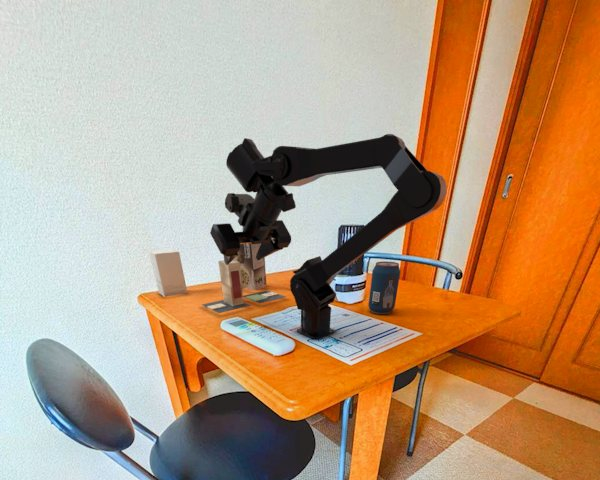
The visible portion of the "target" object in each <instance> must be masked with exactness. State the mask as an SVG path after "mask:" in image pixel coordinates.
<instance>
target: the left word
mask: <svg viewBox="0 0 600 480" xmlns="http://www.w3.org/2000/svg"><path fill="white" fill-rule="evenodd" d="M201 306H203V307H205V308H207V309H209V310H211V311H213V312H216V313H218V314H221V313H226V312H230V311H234V310H238V309H239V310H240V309H242V308H246V307H251V306H252V305H251V304H250V303H249V304H248V303H246V302H244V304H241V305H237V306H231V305H229V304H227V303H224V299H221V300H217V301H212V302H207V303H202V304H201Z"/></svg>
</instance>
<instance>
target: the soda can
mask: <svg viewBox="0 0 600 480" xmlns="http://www.w3.org/2000/svg"><path fill="white" fill-rule="evenodd" d="M371 272H372V273H371V280H370V289H369V297H368V304H367V306H368V309H369V311H370V312H371V313H373V314H378V315H387V314H388V315H389V314H391V313H392V312H393V310H395V307H396V301H397V294H398V289H399V283H400V276H401V269H400V263H399V262H395V261H377V262H375V266H373V269H372V271H371Z"/></svg>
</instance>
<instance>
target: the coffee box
mask: <svg viewBox="0 0 600 480" xmlns="http://www.w3.org/2000/svg"><path fill="white" fill-rule="evenodd" d="M260 245H261V244H252V243H247V244H240V250H239V251H238V252H237V253H238V255H237V256H236V257H235V258H234V259H233V261H237V262H239V263H240V273H241V283H242V289H245V290H246V289H247V290H251V291H258V290H261V289H263V288H266V287H267V273H266V257H264V258H262V259H260V260H257V258H256V255H257V252H258V250H259V247H260Z"/></svg>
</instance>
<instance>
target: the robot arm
mask: <svg viewBox="0 0 600 480" xmlns="http://www.w3.org/2000/svg"><path fill="white" fill-rule="evenodd" d="M405 143H406V142H405V141H404V140H403V139H402V138H401V137H400V136H397V135H396V134H393V133H386V134H384V135H381V136H380V137H375V138H369V139H364V140H358V141H352V142H347V143H342V144H335V145H330V146H325V147H319V148H312V147H311V148H310V147H301V146H290V145H279V146H277V147H275V148H274V149H273V150H272V154H271V155H268V156H266V157H265V156H264V155H263V154H262V152H260V150H259V149H258V147H257V145H256V143H255V142H254V140H253V139H252V138H246V137H245V138H243V140H242V142H241V143H240V144H238V145H237V146H235V147H234V148H233V149H232V150H231V151H230V152H229V153H228V155H227V157H226V161H225V162H226V163H225V165H226V168H227V169H228V171H229V172H230V173H231V174H232V175H233V177H234V179H236V181H237V182H238V184H240V186H241V187H242V188H243V190H245V192H246V193H234V192H229V193H227V194H226V197H225V199H224V207H225V209H226V210H227V211H228V212H229V213H230V214H235V215H236V216H237V217H238V219H237V223H238V224H239V226H240V227H242V231H235V229H234V227H233V226H232V224H231V223H229V222H226V223H213V224H212V226H211V229H210V232H209V234H210V235H211V237H212V240H213V241H214V244H215V245H216V247H217V249H218V250H219V252H220V254H221V255H222V256H223V260H224V262H225V264H226V265H228V264H229V263H230V262H231V261H232V260H233V259H234V258H235V257H236V256H237V255H238V253H237V252H238V251H239V250H240V244H247V243H252V244H261V245H260V247H259V250H258V252H257V255H256V258H257V260H260V259H262V258H264V257H265V258H266V257H268V256H270V255H272V254H275V253H276V252H279V251H281V250H283V249H284V248H285V249H286V248H289V247H290V245H291V243H292V235H291V234H290V232H289V230H288V228H287V225H286V224H285V223H284V220H282V219H278V218H279V217H280V215H281V213H282V212H283V213H286V212H289V211H291V210H294V209H296V207H297V206H296V201H295V199H294V194H293V193H292V192H290V193H289V192H288V191H287V189H286V187H301V186H305V185H307V184H310V183H313V182H315V181H317V180H318V179H320V178H323V177H326V176H331V175H337V174H338V175H339V174H345V173H352V172H353V173H354V172H360V171H368V170H375V169H383V171H384V172H385V174H386V175H387V177H388V179H389V180H390V182H391V184H392V185H393V186H394V188H396V192H395V193H394V194H393V195H392V197H391V198H390V200H389V201H388V202H387V204H386V205H385V207H384V208H383V209H382V211H380V213H378V214H377V215H375V217H374V218H372V219H371V220H370V221H368V223H366V224H365V225H364V226H362V227H361V228H360V229H359V230H358V231H356V233H354V234H353V235H352V236H350V237H349V238H347V240H345V241H344V242H343V243H342V244H340V245H339V246H338V247H337V248H336V249H334V250H333V251H332V252H331V253H330V254H328V255H327V256H326V257H324V258H323V259H322V256H321V255H319V256H316V257H313V258H309V259H307V260H306V261H304V262H303V264H302V265H301V266H300V267H299V268H298V269H295V270H293V271H292V273H293V275H292V276H291V278H290V280H289V283H290V284H289V287H290V292H291V294H292V296H293V298H294V301H295V305H296V307H297V309H298V310H300V328H297V329H296V332H297V333H299V334H301V335H303V336H306V337H308V338H311V339H312V340H318V339H320V338H321V339H322V338H324V337H326V336H329V335H331V334H334V333H336V332H335V331H336V330H335V329H333V328H331V320H332V319H331V317H332V306H330V304H333V303H334V301H335V300H336V297H337V293H336V291H335V290H334V289H333V287H332V286H331V284H332V283H333V281H334V280H335V278H336V277H337V276H338V275H339V273H341V272H342V271H343V270H345V269H346V268H348V267H349V266H350V265H351V264H353V263H354V262H356V261H357V260H358V259H360V258H361V257H363V255H365V254H366V253H368V252H369V251H371V250H372V249H373V248H374V247H376V246H377V245H379V244H380V243H381V242H382V241H384V240H385V239H386V238H388V237H389V236H391V235H392V234H393V233H395V232H396V231H397V230H400V229H401V228H403V227H405V226H407V225H410V224H412V223H415V222H416V221H418V220H420V219H421V218H424V217H425V216H428V215H430V214H432V213H434V212H435V211H436V210H438V209H439V208H440V207H441V206H442V205H443V203H444V201H445V199H446V196H447V189H448V186H447V183H446V180H445V178H444V176H442V175H441V174H439V173H437V172H434V171H430V170H428V169H427V168H426V167H425V166H424V165H423V163H421V161H420V160H419V159H418V158H417V156H416V155H414V154H413V152H412V151H410V150H409V148H408V147H407V145H406V144H405ZM248 193H256V194H255V196H254V197H253V196H252V195H250V194H248Z"/></svg>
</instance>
